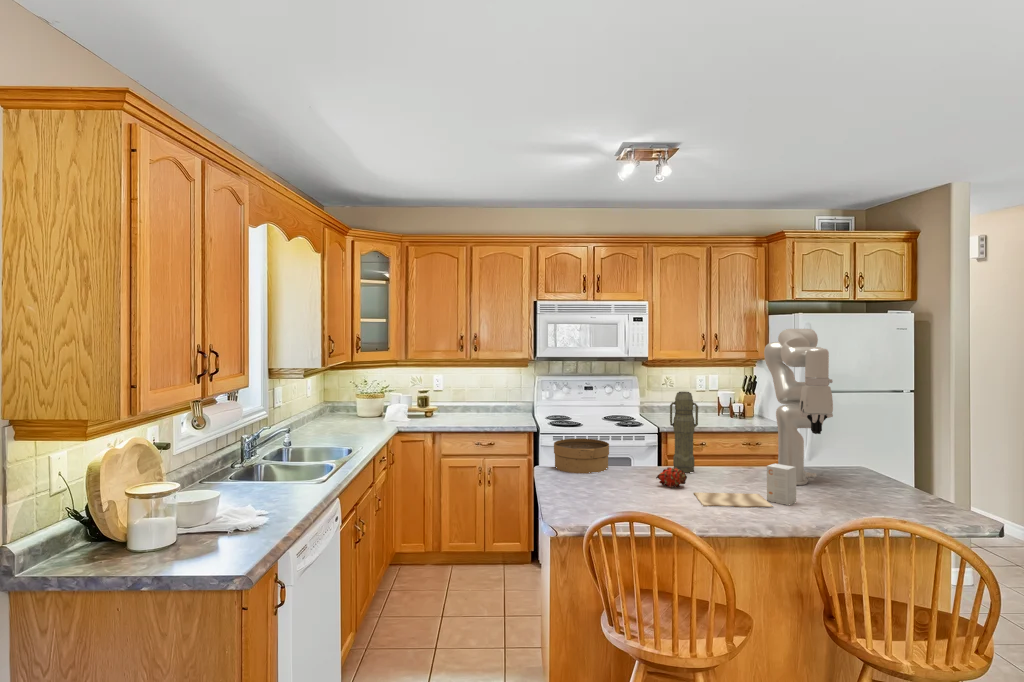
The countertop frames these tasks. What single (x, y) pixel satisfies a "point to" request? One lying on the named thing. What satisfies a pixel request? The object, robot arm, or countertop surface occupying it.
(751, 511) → the countertop surface
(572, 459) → the steamer basket
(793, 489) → the small box
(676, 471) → the dragon fruit
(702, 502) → the maple board
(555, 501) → the countertop surface
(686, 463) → the thermos
